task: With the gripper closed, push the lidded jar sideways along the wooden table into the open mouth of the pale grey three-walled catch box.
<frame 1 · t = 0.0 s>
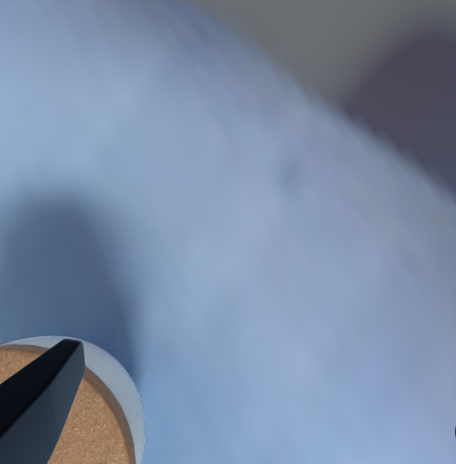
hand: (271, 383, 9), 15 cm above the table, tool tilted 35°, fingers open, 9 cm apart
lidded jar: (78, 404, 24), on the table
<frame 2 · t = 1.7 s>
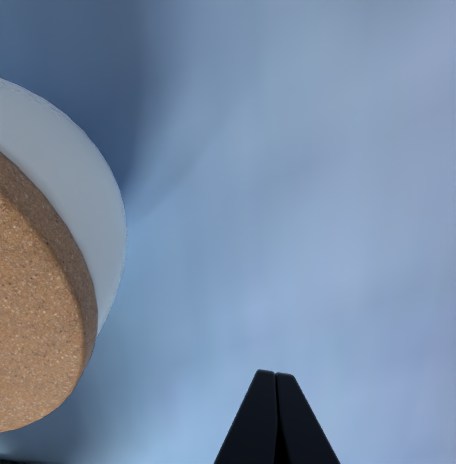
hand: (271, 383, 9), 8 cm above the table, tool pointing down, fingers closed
lidded jar: (38, 181, 16), on the table
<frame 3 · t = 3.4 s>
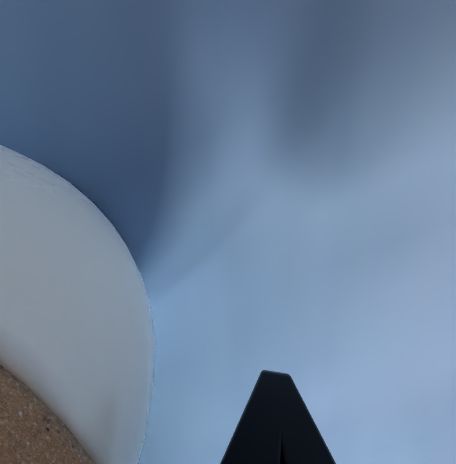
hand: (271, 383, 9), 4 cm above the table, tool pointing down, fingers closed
lidded jar: (31, 251, 12), on the table, touching gripper
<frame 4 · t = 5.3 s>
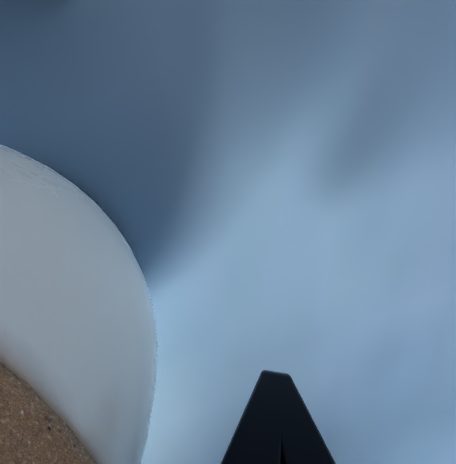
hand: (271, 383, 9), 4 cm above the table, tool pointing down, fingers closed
lidded jar: (35, 252, 12), on the table, touching gripper
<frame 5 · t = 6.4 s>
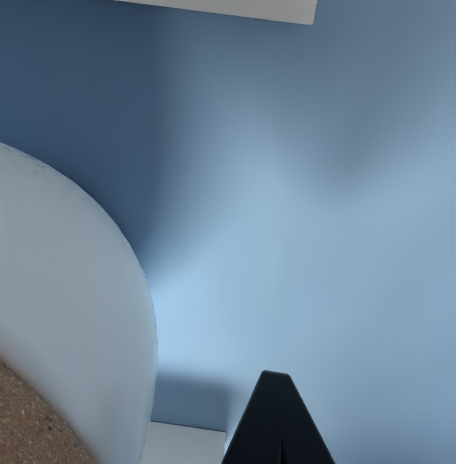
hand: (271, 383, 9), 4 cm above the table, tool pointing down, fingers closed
catch box: (6, 254, 12), on the table
lidded jar: (36, 250, 12), on the table, touching gripper
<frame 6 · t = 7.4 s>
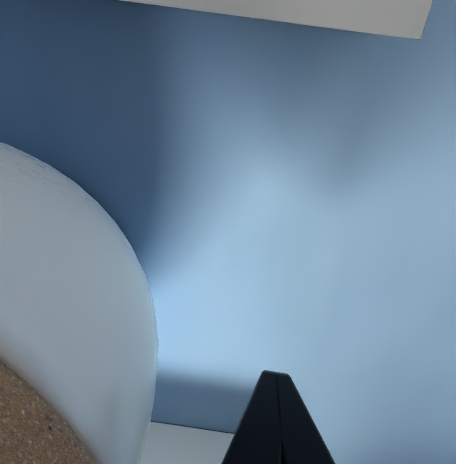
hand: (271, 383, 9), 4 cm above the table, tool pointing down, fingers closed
catch box: (56, 261, 12), on the table
lidded jar: (37, 250, 12), on the table, touching gripper
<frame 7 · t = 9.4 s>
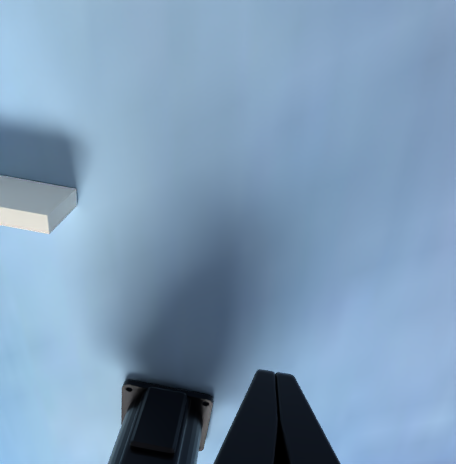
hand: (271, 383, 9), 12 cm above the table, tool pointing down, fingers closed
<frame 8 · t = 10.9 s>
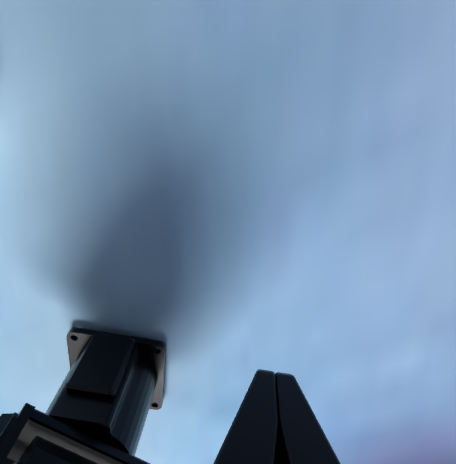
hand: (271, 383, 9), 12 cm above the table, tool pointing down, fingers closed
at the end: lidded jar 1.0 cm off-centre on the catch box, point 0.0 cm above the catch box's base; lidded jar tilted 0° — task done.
